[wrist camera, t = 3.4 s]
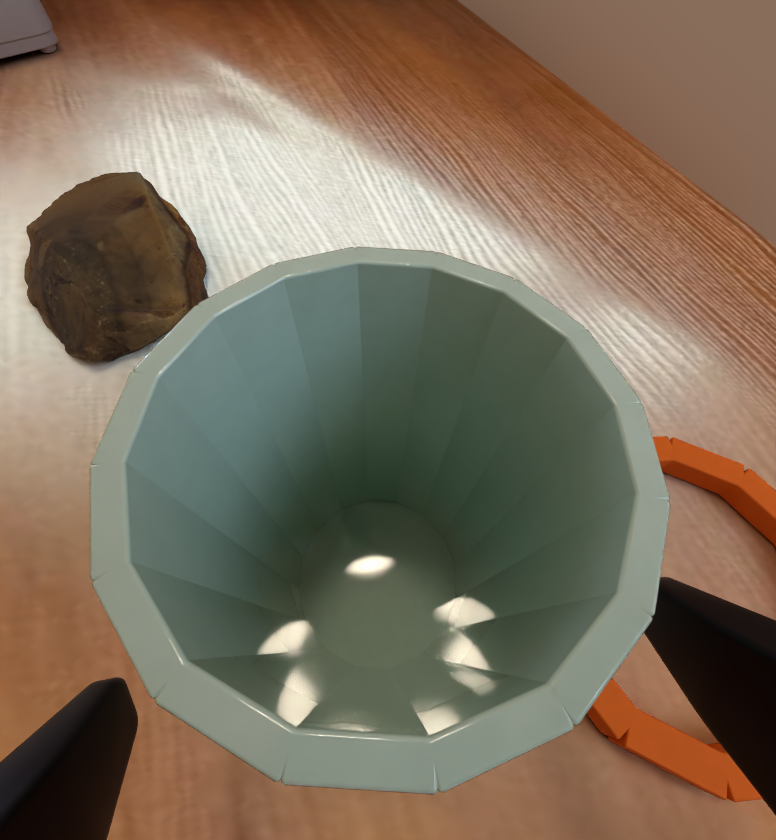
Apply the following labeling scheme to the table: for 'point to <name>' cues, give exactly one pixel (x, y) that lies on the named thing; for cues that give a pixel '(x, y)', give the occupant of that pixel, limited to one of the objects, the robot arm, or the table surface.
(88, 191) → the decorative stone
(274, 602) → the cup
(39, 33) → the projector
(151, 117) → the table surface
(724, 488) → the ring
